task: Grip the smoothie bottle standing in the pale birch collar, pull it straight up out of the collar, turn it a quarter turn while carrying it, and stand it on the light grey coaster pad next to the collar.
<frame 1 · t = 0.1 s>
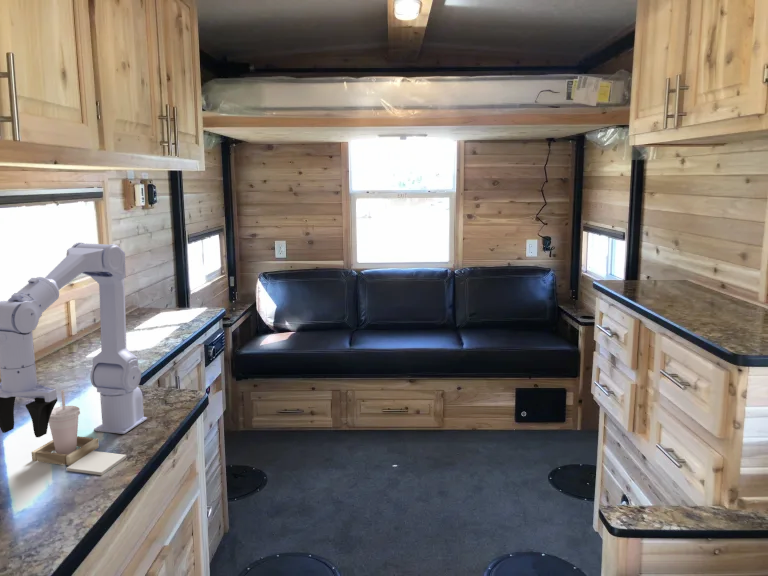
hand: (24, 433, 118), 10 cm above the counter, fingers open, 7 cm apart
smoothie: (66, 454, 132), resting in collar
coaster pad: (97, 463, 127), on the counter
collar: (66, 453, 131), on the counter
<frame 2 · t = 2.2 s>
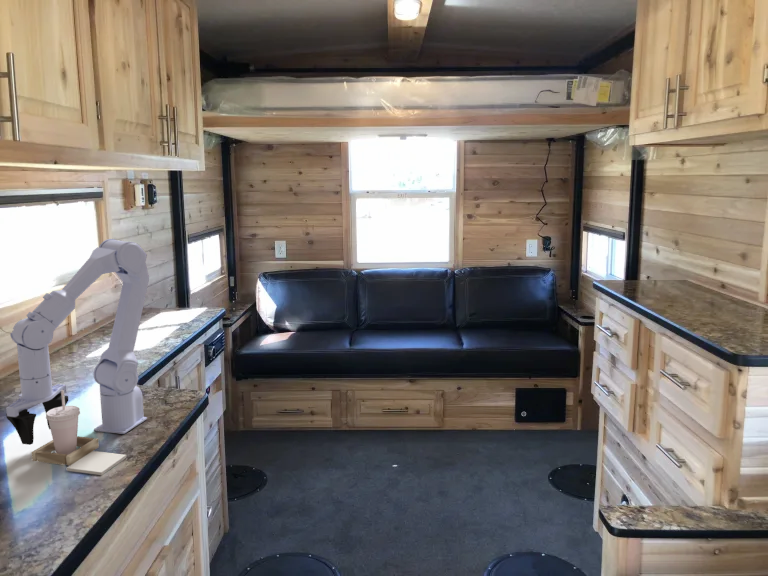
hand: (41, 436, 132), 3 cm above the counter, fingers open, 7 cm apart
nothing on the counter moved.
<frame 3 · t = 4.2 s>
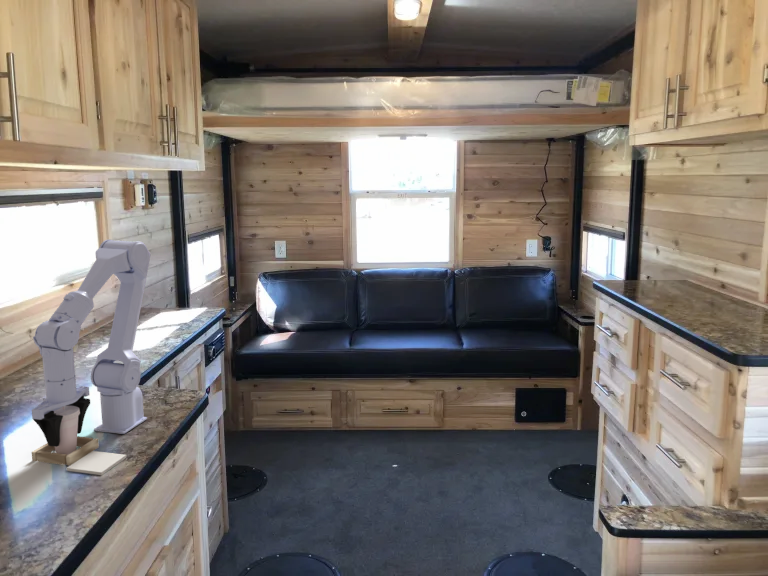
hand: (65, 438, 131), 3 cm above the counter, fingers closed on smoothie, 6 cm apart
smoothie: (66, 454, 132), resting in collar, touching gripper
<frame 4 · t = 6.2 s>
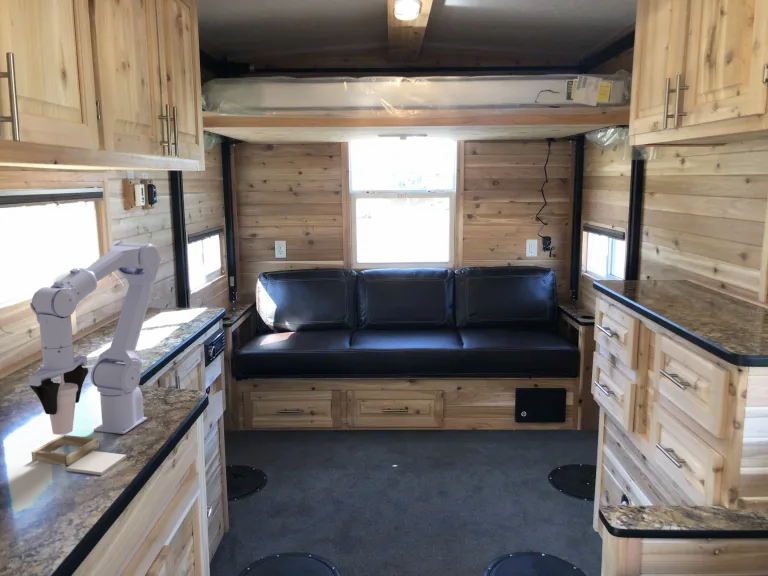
hand: (62, 407, 130), 10 cm above the counter, fingers closed on smoothie, 6 cm apart
smoothie: (62, 432, 130), point 5 cm above the counter, touching gripper
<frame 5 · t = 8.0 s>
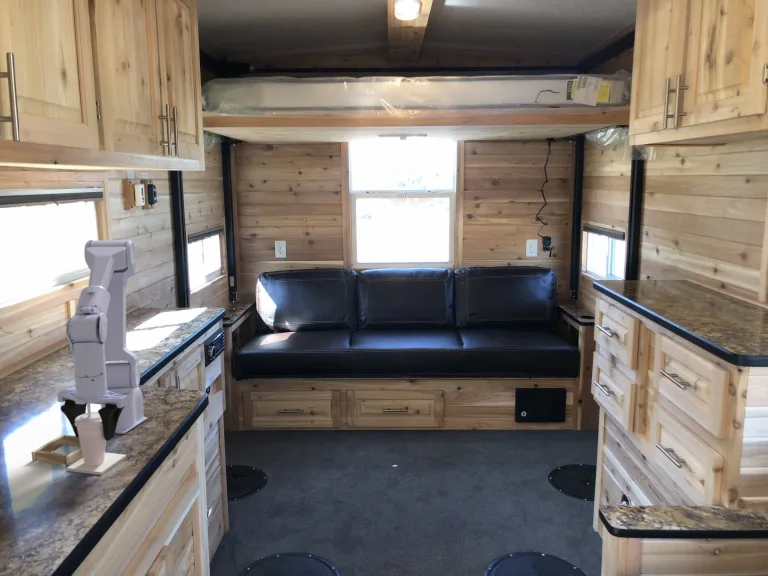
hand: (95, 437, 126), 6 cm above the counter, fingers closed on smoothie, 6 cm apart
smoothie: (94, 463, 127), resting on coaster pad, touching gripper
when the fingers open (5 cm above the counter, at t = 9.3 s): smoothie stays where it is, resting on coaster pad.
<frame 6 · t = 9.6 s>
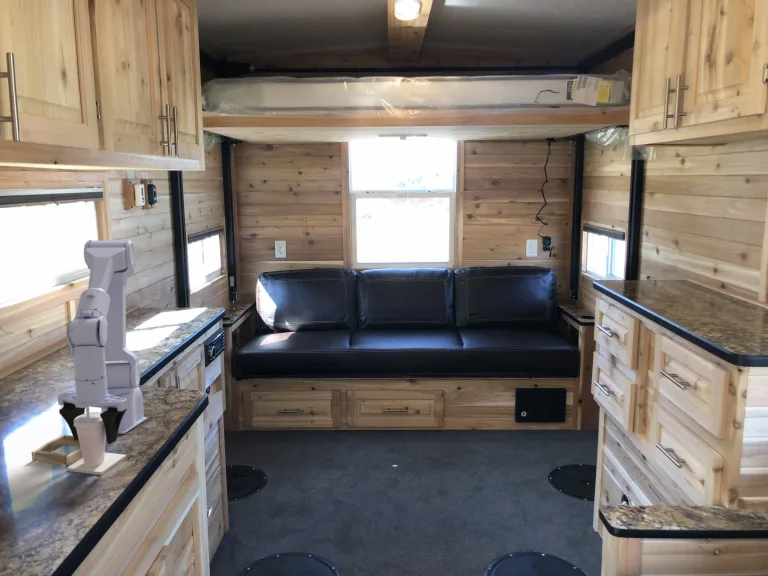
hand: (95, 440, 126), 5 cm above the counter, fingers open, 7 cm apart
smoothie: (94, 463, 127), resting on coaster pad
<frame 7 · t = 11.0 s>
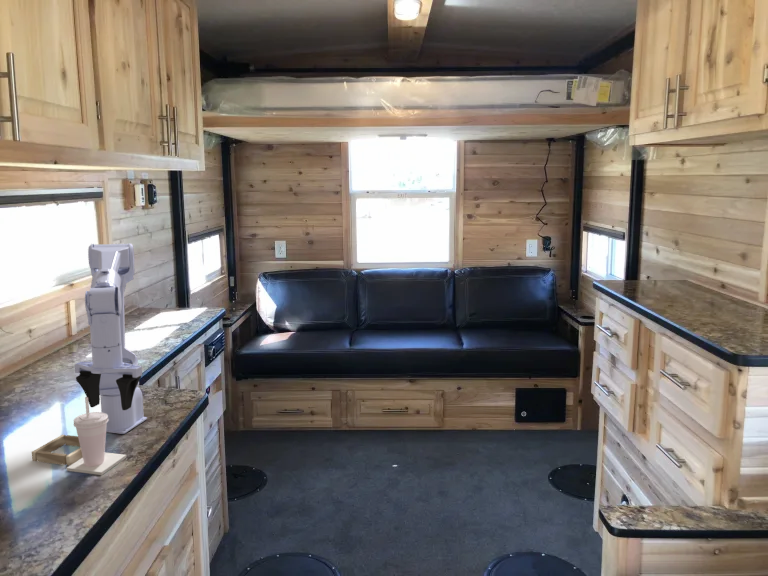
hand: (110, 407, 130), 10 cm above the counter, fingers open, 7 cm apart
nothing on the counter moved.
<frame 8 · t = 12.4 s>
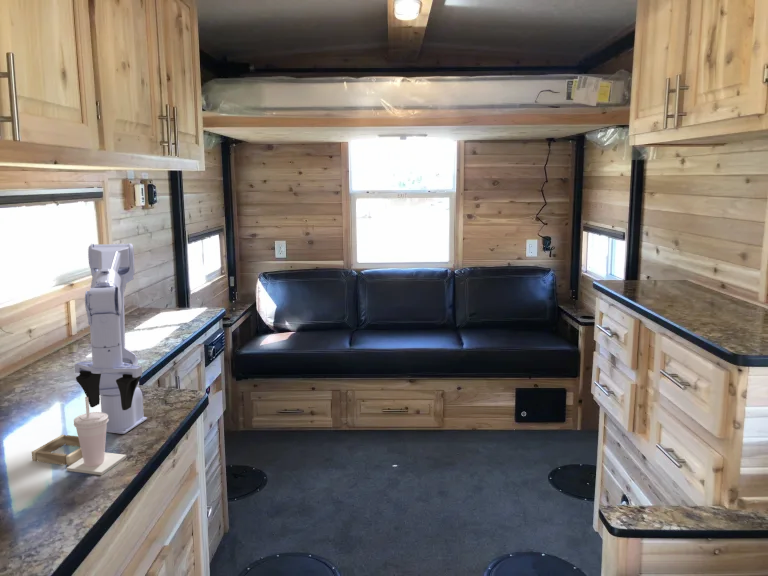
hand: (110, 407, 130), 10 cm above the counter, fingers open, 7 cm apart
nothing on the counter moved.
at the end: smoothie 0.6 cm off-centre on the coaster pad, point 0.4 cm above the coaster pad's base; smoothie tilted 0°; the gripper is holding nothing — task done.
